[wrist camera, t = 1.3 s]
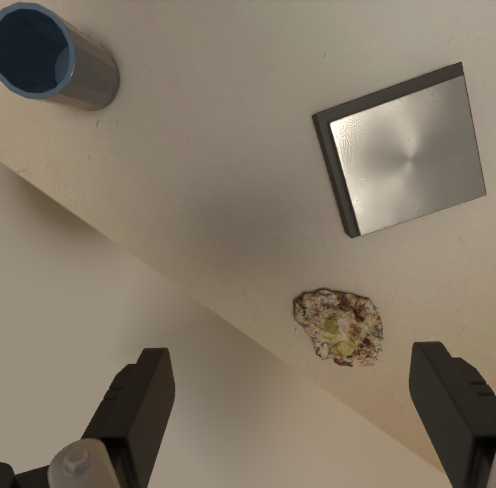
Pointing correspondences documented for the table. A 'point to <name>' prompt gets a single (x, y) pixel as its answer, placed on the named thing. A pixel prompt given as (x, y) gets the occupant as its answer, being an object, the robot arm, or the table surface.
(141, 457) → the robot arm
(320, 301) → the mineral rock
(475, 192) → the scale
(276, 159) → the table surface
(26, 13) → the cup
